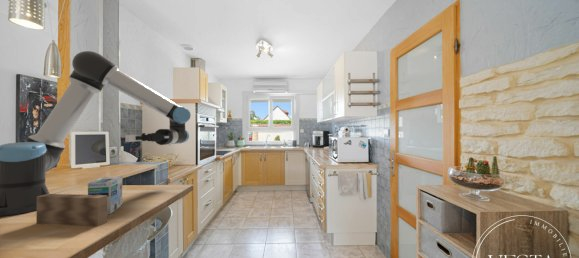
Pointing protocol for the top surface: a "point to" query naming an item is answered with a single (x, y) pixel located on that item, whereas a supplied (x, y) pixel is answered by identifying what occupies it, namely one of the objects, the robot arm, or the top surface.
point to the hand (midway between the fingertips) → (127, 138)
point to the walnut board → (72, 209)
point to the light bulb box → (108, 191)
